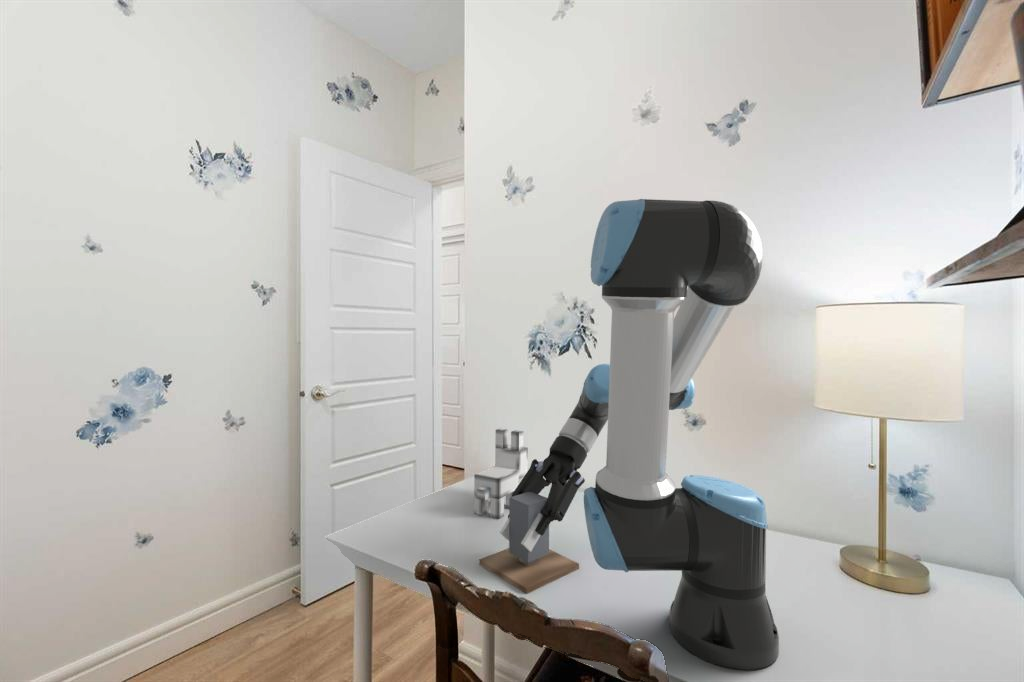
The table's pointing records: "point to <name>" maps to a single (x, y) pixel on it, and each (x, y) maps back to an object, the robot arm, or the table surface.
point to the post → (528, 569)
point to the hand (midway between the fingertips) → (515, 541)
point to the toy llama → (501, 474)
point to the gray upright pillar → (526, 525)
